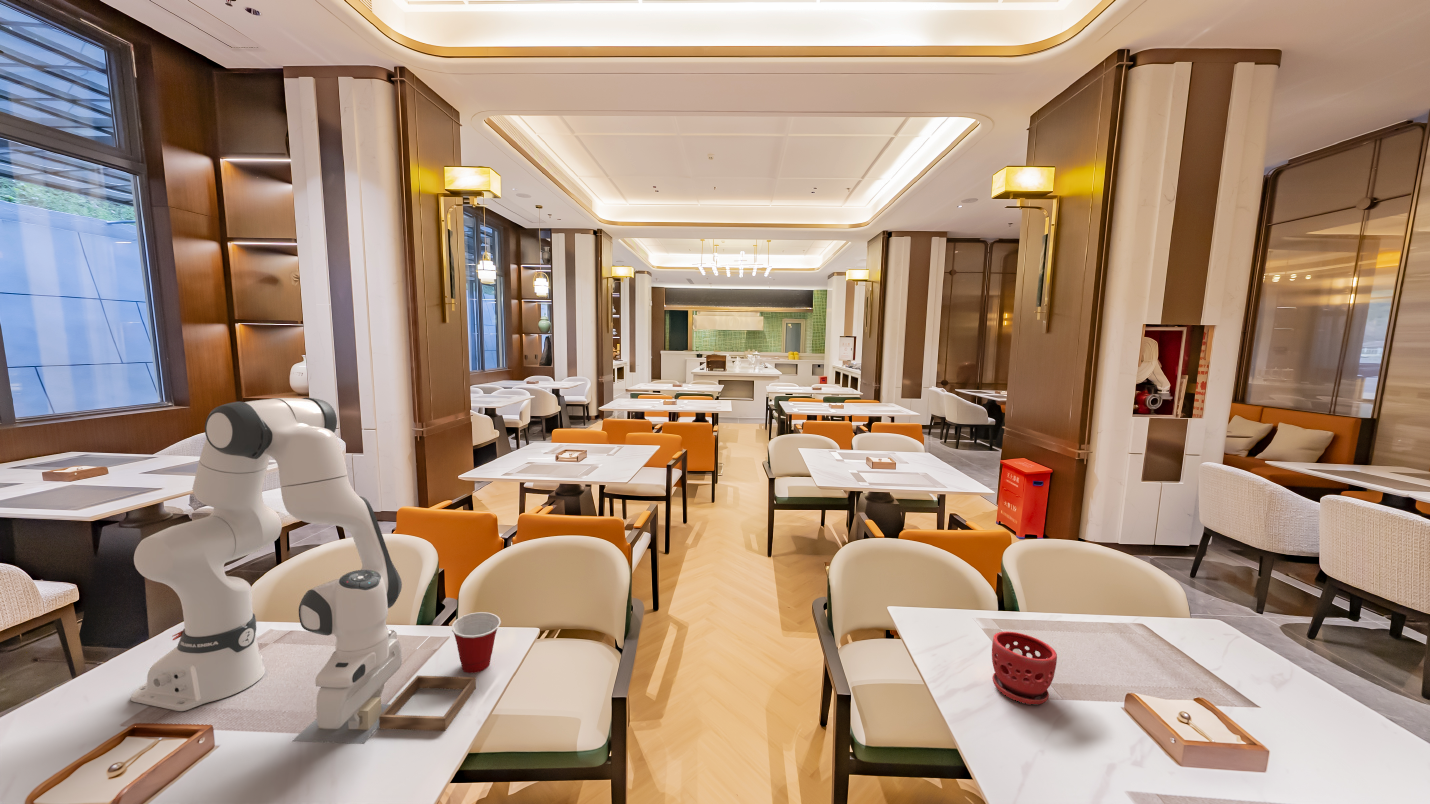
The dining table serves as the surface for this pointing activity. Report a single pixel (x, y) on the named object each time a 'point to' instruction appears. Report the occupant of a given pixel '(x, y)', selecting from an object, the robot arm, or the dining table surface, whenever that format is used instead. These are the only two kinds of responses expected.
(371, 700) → the beige block
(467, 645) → the plastic cup
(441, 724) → the walnut bin
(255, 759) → the dining table surface
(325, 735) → the slate board
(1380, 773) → the dining table surface
